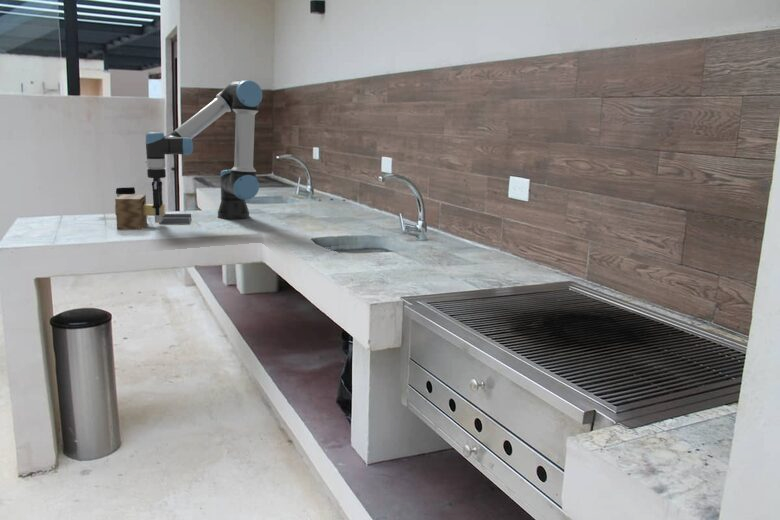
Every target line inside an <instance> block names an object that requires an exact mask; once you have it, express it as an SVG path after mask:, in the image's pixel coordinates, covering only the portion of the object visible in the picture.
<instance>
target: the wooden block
mask: <svg viewBox="0 0 780 520" xmlns="http://www.w3.org/2000/svg"><path fill="white" fill-rule="evenodd" d="M146 195H147V194H136V193H135V194H122V195H120V196H119V197H117V196H116V198H115V200H114V201H115V205H116V215H115V216H116V217H115V218H116V219H115V220H116V230H143V229H144V227H146V226H147V224H148V219H147V217H148V216H143V205H142V204H147V199H146V198H147V196H146Z"/></svg>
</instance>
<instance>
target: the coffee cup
mask: <svg viewBox="0 0 780 520" xmlns="http://www.w3.org/2000/svg"><path fill="white" fill-rule="evenodd" d="M115 190H116V191H115V194H116V198H117V197H119V196H120V195H122V194H135V195H136V190H135V186H134V187H133V186H132V187H117V188H116V189H115Z"/></svg>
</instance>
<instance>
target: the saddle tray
mask: <svg viewBox="0 0 780 520" xmlns="http://www.w3.org/2000/svg"><path fill="white" fill-rule="evenodd" d="M191 221H192V213H165V215H164V216H163V221H162V222H161V223H158V224H159V225H190V224H191Z"/></svg>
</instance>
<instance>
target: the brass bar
mask: <svg viewBox="0 0 780 520" xmlns="http://www.w3.org/2000/svg"><path fill="white" fill-rule="evenodd" d="M142 205H143V216H147V217H149V216H150V217H151V216H153V217H155V215H154V208H152V206H153V203H146V204H142ZM160 206H161V207H160V208H161V216H164V215H165V214H166V204H164V203H162V204H160ZM114 210H115V211H114V212H115V216H116V204H115V205H114Z"/></svg>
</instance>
